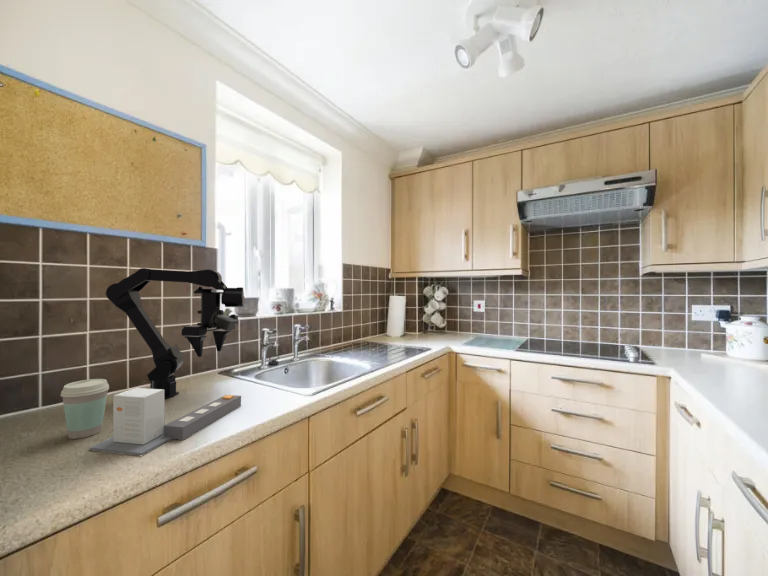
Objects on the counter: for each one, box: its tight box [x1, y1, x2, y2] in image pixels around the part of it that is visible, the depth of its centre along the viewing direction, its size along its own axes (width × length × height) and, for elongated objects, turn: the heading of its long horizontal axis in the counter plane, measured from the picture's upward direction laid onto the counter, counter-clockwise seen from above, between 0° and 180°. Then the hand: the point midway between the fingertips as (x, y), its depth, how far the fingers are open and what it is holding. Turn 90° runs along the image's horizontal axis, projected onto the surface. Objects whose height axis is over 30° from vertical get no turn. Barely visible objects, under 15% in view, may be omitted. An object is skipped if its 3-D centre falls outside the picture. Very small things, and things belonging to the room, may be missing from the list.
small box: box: [112, 387, 166, 445], centre depth 72 cm, size 8×6×10 cm
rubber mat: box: [88, 434, 172, 456], centre depth 72 cm, size 13×11×1 cm
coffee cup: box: [60, 378, 110, 440], centre depth 76 cm, size 8×8×12 cm
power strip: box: [164, 394, 242, 441], centre depth 84 cm, size 5×22×4 cm, turn 171°
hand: (209, 353), depth 106 cm, fingers open, 9 cm apart
